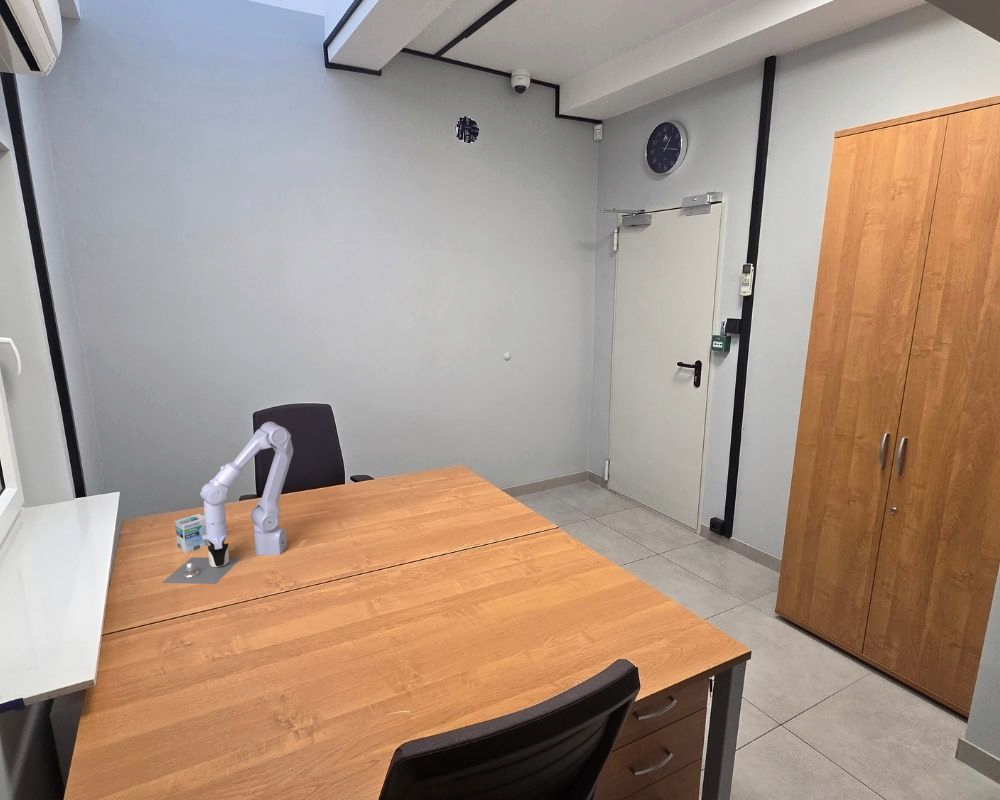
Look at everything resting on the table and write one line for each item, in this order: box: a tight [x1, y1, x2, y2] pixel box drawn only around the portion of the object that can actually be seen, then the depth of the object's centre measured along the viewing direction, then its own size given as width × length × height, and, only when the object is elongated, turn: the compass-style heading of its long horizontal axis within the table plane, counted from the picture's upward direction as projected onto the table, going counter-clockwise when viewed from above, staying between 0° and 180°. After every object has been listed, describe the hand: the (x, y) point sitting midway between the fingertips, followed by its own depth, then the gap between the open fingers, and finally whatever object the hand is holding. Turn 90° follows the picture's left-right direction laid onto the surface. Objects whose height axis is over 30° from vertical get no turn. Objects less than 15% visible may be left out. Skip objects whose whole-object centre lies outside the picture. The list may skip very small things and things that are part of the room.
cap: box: [208, 548, 230, 567], centre depth 175 cm, size 5×5×4 cm
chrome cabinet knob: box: [183, 560, 199, 578], centre depth 168 cm, size 4×4×4 cm
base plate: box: [161, 556, 242, 585], centre depth 171 cm, size 16×16×1 cm
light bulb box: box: [174, 511, 210, 554], centre depth 187 cm, size 11×7×11 cm, turn 143°
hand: (219, 561), depth 175 cm, fingers closed on cap, 5 cm apart
